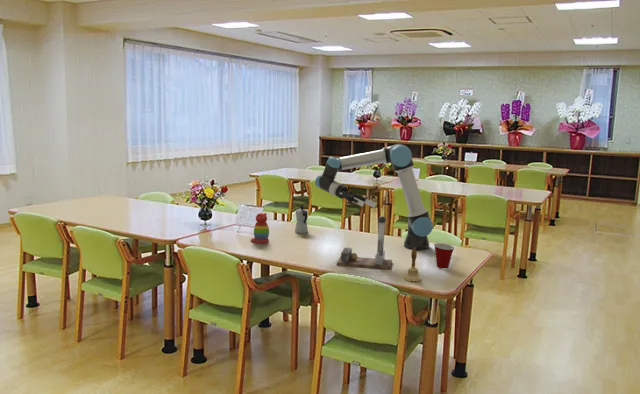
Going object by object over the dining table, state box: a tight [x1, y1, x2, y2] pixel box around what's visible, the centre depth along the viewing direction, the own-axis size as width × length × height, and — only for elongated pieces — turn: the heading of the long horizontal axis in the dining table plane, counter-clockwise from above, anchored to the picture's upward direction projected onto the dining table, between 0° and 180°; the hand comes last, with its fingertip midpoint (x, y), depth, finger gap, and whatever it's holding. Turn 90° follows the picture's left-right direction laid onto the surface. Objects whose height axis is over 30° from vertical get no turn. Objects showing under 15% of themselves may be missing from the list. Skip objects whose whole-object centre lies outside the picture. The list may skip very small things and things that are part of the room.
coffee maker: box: [294, 205, 309, 235], centre depth 357 cm, size 15×9×18 cm, turn 23°
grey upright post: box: [374, 215, 387, 265], centre depth 286 cm, size 4×11×25 cm, turn 169°
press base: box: [336, 247, 393, 271], centre depth 290 cm, size 28×14×6 cm, turn 78°
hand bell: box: [403, 248, 422, 283], centre depth 264 cm, size 8×8×16 cm
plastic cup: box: [433, 242, 456, 269], centre depth 287 cm, size 11×11×12 cm
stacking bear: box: [250, 212, 270, 245], centre depth 330 cm, size 11×10×18 cm
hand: (369, 205), depth 296 cm, fingers open, 13 cm apart
